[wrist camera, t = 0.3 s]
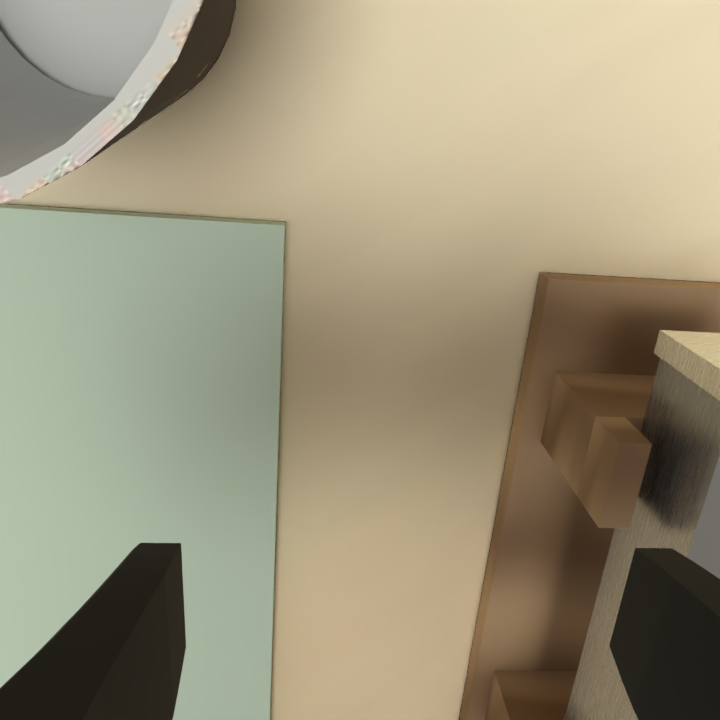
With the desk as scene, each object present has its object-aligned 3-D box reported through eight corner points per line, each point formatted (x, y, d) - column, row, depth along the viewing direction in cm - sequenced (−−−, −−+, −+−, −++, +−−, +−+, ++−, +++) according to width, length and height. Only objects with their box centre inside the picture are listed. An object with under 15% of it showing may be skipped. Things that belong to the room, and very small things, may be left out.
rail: (618, 840, 23) (667, 957, 20) (526, 842, 22) (560, 962, 19) (790, 336, 16) (908, 393, 13) (659, 329, 15) (747, 386, 12)
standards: (617, 748, 27) (684, 890, 22) (453, 749, 26) (484, 896, 21) (763, 285, 19) (912, 344, 14) (539, 272, 19) (617, 328, 14)
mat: (268, 768, 26) (267, 783, 25) (11, 771, 25) (4, 786, 24) (285, 221, 18) (284, 225, 17) (-94, 197, 17) (-108, 201, 16)
